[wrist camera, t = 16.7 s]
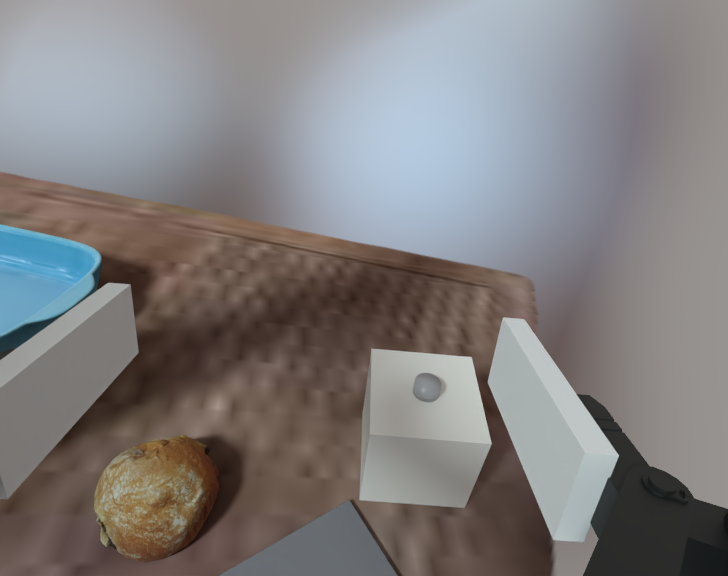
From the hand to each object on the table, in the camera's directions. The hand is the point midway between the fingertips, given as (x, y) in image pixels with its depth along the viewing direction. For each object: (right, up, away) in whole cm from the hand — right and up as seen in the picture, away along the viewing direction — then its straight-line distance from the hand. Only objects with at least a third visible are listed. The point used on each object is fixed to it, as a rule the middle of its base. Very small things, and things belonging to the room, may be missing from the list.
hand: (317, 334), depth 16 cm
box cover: (+6, -16, +30) cm, 35 cm away
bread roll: (-16, -18, +25) cm, 35 cm away
